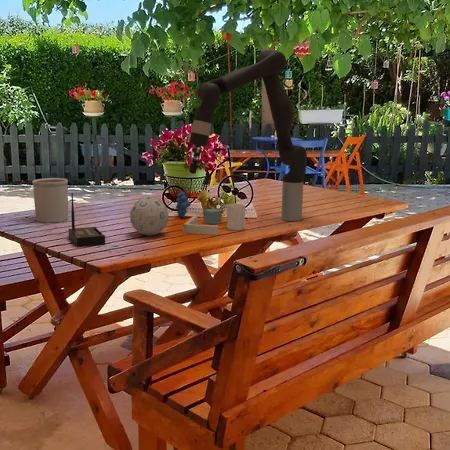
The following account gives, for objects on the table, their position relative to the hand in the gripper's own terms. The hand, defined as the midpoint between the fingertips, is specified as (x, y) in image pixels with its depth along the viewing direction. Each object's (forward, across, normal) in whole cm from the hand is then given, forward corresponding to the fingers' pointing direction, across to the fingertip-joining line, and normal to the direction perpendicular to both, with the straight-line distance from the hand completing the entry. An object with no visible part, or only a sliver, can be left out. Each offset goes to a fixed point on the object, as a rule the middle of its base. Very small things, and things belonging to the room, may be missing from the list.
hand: (192, 173), depth 249 cm
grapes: (+22, +30, -2) cm, 37 cm away
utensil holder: (+34, +26, +54) cm, 69 cm away
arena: (+22, +4, -10) cm, 24 cm away
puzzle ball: (+28, -4, +12) cm, 30 cm away
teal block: (+20, +18, -14) cm, 30 cm away
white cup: (+20, +5, -23) cm, 30 cm away
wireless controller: (+33, -12, +35) cm, 50 cm away
